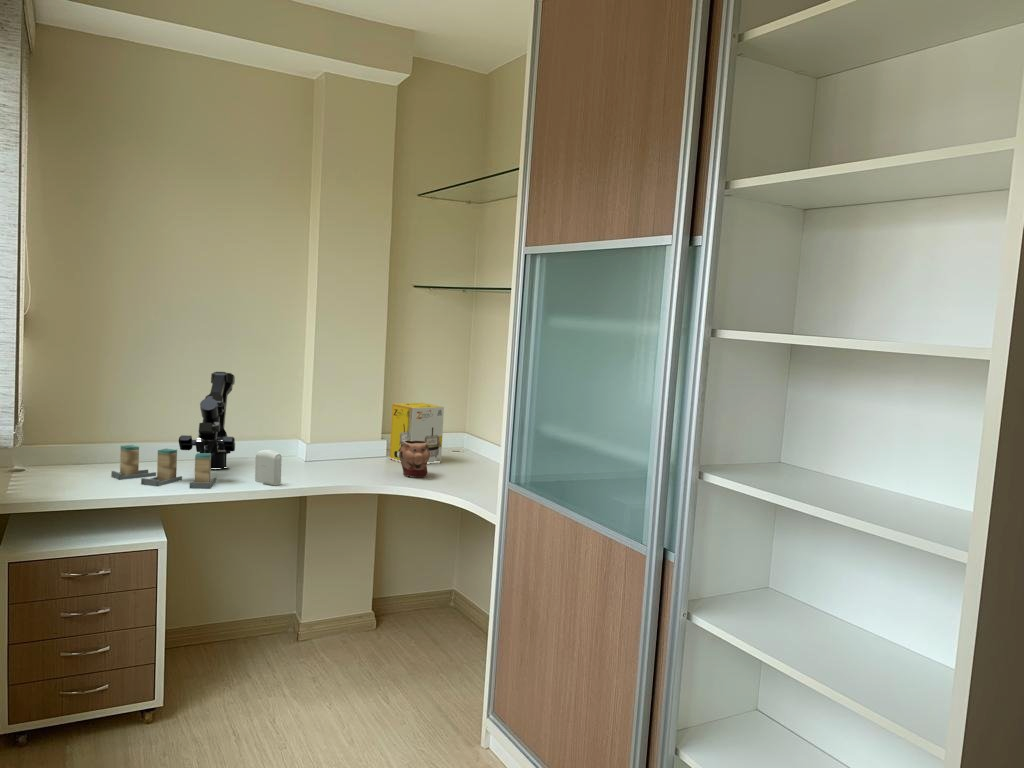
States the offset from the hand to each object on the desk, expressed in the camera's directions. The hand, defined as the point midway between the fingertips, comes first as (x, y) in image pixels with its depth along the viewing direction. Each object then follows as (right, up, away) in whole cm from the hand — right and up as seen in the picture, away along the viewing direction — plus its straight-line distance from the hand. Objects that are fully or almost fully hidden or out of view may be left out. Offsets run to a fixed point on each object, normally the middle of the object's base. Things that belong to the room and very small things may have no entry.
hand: (204, 462), depth 288 cm
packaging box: (+66, -7, +73) cm, 98 cm away
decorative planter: (+69, -9, +42) cm, 81 cm away
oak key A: (-29, -6, +5) cm, 30 cm away
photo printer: (+19, -9, +10) cm, 24 cm away
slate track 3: (0, -8, 0) cm, 8 cm away
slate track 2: (-15, -7, 0) cm, 17 cm away
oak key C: (0, -8, -2) cm, 8 cm away
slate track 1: (-28, -6, +7) cm, 29 cm away
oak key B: (-14, -7, +2) cm, 16 cm away
